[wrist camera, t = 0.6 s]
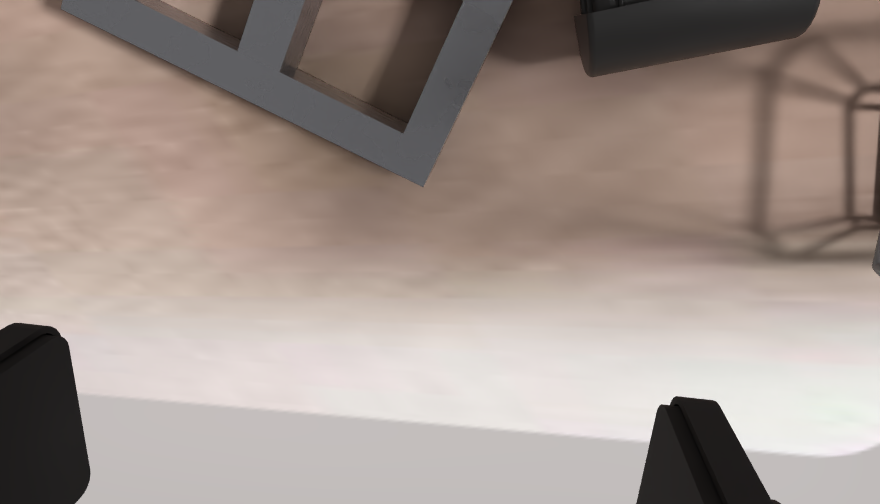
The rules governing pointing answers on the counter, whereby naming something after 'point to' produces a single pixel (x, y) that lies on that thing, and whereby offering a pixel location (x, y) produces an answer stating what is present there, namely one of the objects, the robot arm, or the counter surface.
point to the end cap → (680, 29)
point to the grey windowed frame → (299, 94)
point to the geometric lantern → (877, 257)
